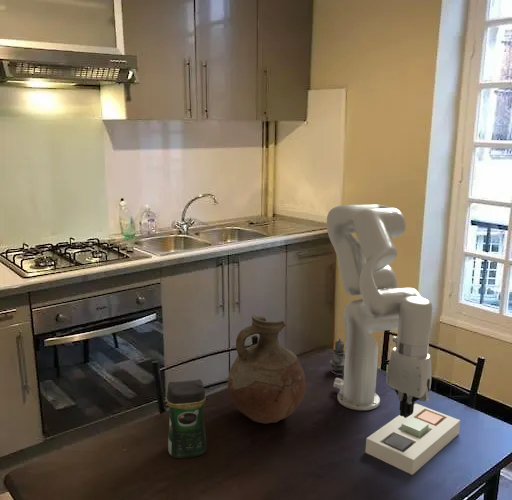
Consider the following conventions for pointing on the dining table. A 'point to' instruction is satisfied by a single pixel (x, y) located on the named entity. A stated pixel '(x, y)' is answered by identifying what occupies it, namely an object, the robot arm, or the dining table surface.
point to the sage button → (415, 427)
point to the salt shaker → (338, 358)
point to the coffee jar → (186, 418)
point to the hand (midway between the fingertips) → (405, 414)
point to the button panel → (420, 448)
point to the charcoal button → (398, 443)
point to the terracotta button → (430, 418)
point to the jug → (265, 375)
